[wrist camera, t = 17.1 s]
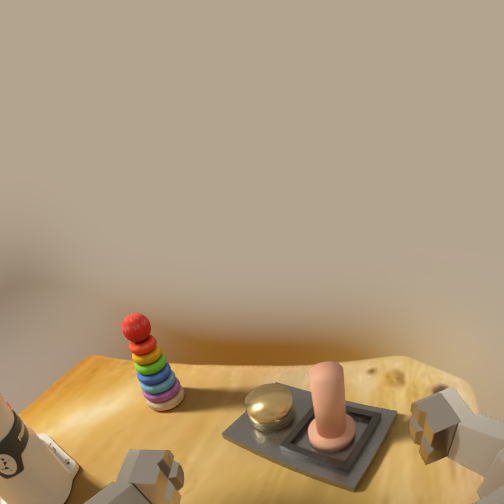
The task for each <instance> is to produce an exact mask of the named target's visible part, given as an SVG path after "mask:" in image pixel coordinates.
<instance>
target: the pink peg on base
mask: <svg viewBox="0 0 504 504" xmlns="http://www.w3.org/2000/svg"><path fill="white" fill-rule="evenodd" d="M309 381H310V387H311V394H312V400H313V407H314V414H315V419H314V420H313V421H312V422H311V423H310V425H309V427H308V435H309V441H310V443H311V445H312V446H313V447H314V448H315V449H317V450H319V451H322V452H337V451H340V450H343V449H344V448H346V447H348V446H349V445H350V444H351V443H352V441H353V440H354V437H355V422H354V420H353V418H352V417H351V416H349V415H348V414H346V407H345V389H344V375H343V368H342V366H341V365H340V364H338V363H336V362H331V361H327V362H321V363H318V364H316V365H314V366H313V367H312V368H311V369H310V371H309Z"/></svg>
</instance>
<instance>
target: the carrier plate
mask: <svg viewBox="0 0 504 504" xmlns="http://www.w3.org/2000/svg"><path fill="white" fill-rule="evenodd" d="M244 404H245V407H246V410H247V411H246V412H245V413H244V414H243V415H241V416H240V417H239V418H238V419H237V420H236V421H235V422H234V423H233V424H232V425H230V426H229V427H228V428H227V429H226V430H225V431H224V432H223V433H222V435H223V437H224V439H226V440H228V441H230V442H232V443H234V444H236V445H238V446H240V447H242V448H244V449H246V450H248V451H250V452H252V453H254V454H256V455H259V456H261V457H263V458H265V459H267V460H269V461H272V462H274V463H276V464H279V465H281V466H283V467H286V468H288V469H290V470H293V471H295V472H298V473H300V474H303V475H305V476H308V477H311V478H313V479H316V480H319V481H322V482H324V483H327V484H330V485H333V486H336V487H339V488H342V489H345V490H348V491H352V492H355V490H356V489H357V487H358V485H359V484H360V482H361V481H362V479H363V477H364V476H365V474H366V473H367V471H368V469H369V467H370V466H371V464H372V462H373V461H374V459H375V457H376V455H377V454H378V452H379V450H380V448H381V446H382V444H383V443H384V441H385V439H386V437H387V435H388V433H389V431H390V429H391V427H392V425H393V423H394V421H395V419H396V417H397V411H393V410H388V409H383V408H378V407H373V406H368V405H363V404H358V403H354V402H349V401H345V407H346V414H348V415H349V416H351V417H352V418H353V420H354V422H355V437H354V440H353V441H352V443H351V444H350V445H349V446H348V447H346V448H344V449H343V450H340V451H337V452H322V451H319V450H317V449H315V448H314V447H313V446H312V445H311V443H310V441H309V435H308V427H309V425H310V423H311V422H312V421H313V420H314V419H315V414H314V407H313V400H312V394H311V392H309V391H305V390H301V389H298V388H294V387H291V386H287V385H284V384H280V383H277V382H276V383H275V384H274V383H273V384H265V385H261V386H259V387H257V388H255V389H253V390H252V391H251V392H249V393H248V395H247V396H246V398H245V401H244Z"/></svg>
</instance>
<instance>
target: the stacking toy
mask: <svg viewBox="0 0 504 504" xmlns="http://www.w3.org/2000/svg"><path fill="white" fill-rule="evenodd" d="M122 331H123V334H124V335H125V337H126V338H127V339H128V340H130V341H131V342H130V344H129V349H130V350H131V352H132V353H133V354H132V358H133V361H134V362H135V368H136V370H137V371H138V372H137V377H138V379H139V381H140V386H141V388H142V390H143V395H144V397H145V400H146V403H147V405H148V406H149V407H150V408H151V409H154V410H157V411H164V410H169V409H172V408H174V407H175V406H177V405H178V404H179V403H180V402H181V401H182V400H183V398H184V389H183V387H182V386H181V385H180V382H179V380H178V379H177V378H176V377H175V373H174V372H173V371H172V370H171V368H170V365H169V364H168V363H167V362H166V357H165V355H164V354H162V353H161V349H160V347H159V346H158V345H157V344H156V339H155V338H154V337H153V336H152V335H149V334H150V331H151V326H150V322H149V320H148V319H147V318H146V317H145V316H144V315H142V314H139V313H133V314H130V315H128V316H127V317H126V318H125V319H124V321H123V323H122Z"/></svg>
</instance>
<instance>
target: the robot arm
mask: <svg viewBox="0 0 504 504" xmlns="http://www.w3.org/2000/svg"><path fill="white" fill-rule="evenodd" d="M411 412H412V414H413V416H412V417H411V418H410V419H409V429H410V434H411V437H412V439H413V441H414V443H415V444H418V445H420V449H419V453H420V455H421V457H422V459H423V461H424V463H425V465H427V464H430V463H432V462H435V461H437V460H440V459H442V458H444V457H447V456H448V458H450V459H452V460H453V461H455V462H457V463H459V464H461V465H463V466H464V467H466V468H468V469H470V470H472V471H474V472H476V473H478V474H480V475H481V476H483V477H485V478H484V479H483V481H482V483H481V484H480V486H479V488H478V490H477V494H478V496H479V497H480V500H478V501H476V502H474V503H473V504H504V421H501V420H498V419H495V418H491V417H488V416H485V415H482V414H479V413H478V414H476V415H475V414H474V413H473V412H472V410H471V409H470V408H469V407H468V405H467V404H466V403H465V401H464V400H463V399H462V398H461V396H460V395H459V394H458V393H457V391H456V390H455V389H454V388H453V387H450V388H447V389H445V390H443V391H440V392H438V393H435V394H433V395H431V396H428V397H426V398H423V399H421V400H418V401H416V402H413V403H412V405H411ZM173 459H174V455H173V454H172V452H171V451H169V450H134V449H130V450H129V451H128V452H127V454H126V457H125V459H124V462H123V464H122V467H121V470H120V472H119V475H118V477H117V480H116V482H111V483H110V484H109V485H107V486H106V487H105V488H104V489H102V490H101V491H100V492H98V493H97V494H96V495H94V496H93V497H91V498H90V499H89V500H87V501H86V502H85V503H83V504H180V500H181V495H180V493H179V492H178V491H179V490H180V489H181V488H182V487H183V484H184V472H183V470H182V467H181V466H180V464H179V463H177V462H176V461H174V460H173ZM78 470H79V465H78V464H77V463H76V462H75V461H74V460H73V459H71V458H70V457H69V456H68V455H67V454H66V453H65V452H64V451H63V450H62V449H61V448H60V447H59V446H58V445H57V444H56V443H55V442H54V441H53V440H52V439H51V438H50V437H49V436H48V435H47V434H46V433H42V434H36V433H35V432H34V431H33V429H32V428H31V427H30V425H29V424H26V423H23V421H22V420H21V418H20V417H19V416H18V415H17V414H16V413H15V412H14V411H13V410H12V409H11V407H10V406H9V404H8V403H7V402H5V400H4V398H3V397H2V395H1V394H0V497H1V504H64V502H65V501H66V499H67V498H68V496H69V494H70V491H71V487H72V481H73V478H74V477H75V475H76V473H77V472H78Z"/></svg>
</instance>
